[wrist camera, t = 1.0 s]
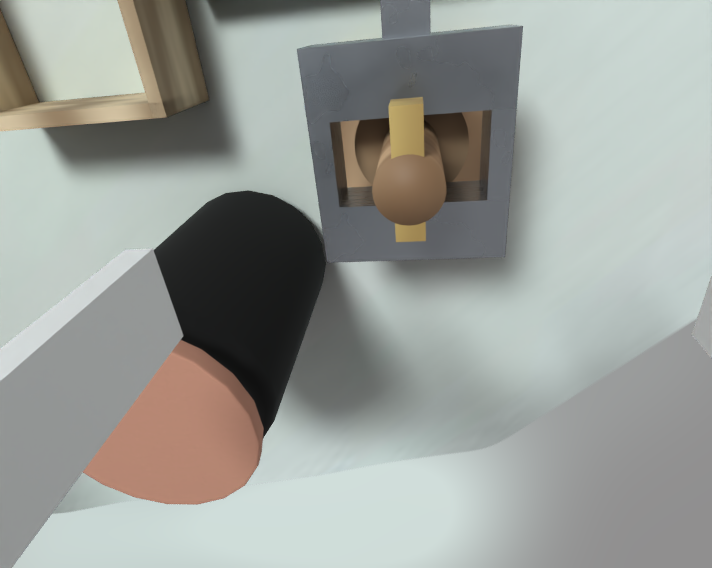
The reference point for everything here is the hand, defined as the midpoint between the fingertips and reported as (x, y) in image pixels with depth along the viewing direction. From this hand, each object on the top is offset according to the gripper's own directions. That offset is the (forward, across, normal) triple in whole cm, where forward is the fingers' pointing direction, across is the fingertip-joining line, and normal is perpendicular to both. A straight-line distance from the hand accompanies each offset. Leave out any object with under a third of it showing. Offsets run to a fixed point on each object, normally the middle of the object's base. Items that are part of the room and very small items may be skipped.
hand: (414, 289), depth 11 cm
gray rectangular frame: (+14, 0, 0) cm, 14 cm away
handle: (+21, 0, 0) cm, 21 cm away
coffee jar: (+21, -12, -9) cm, 26 cm away
